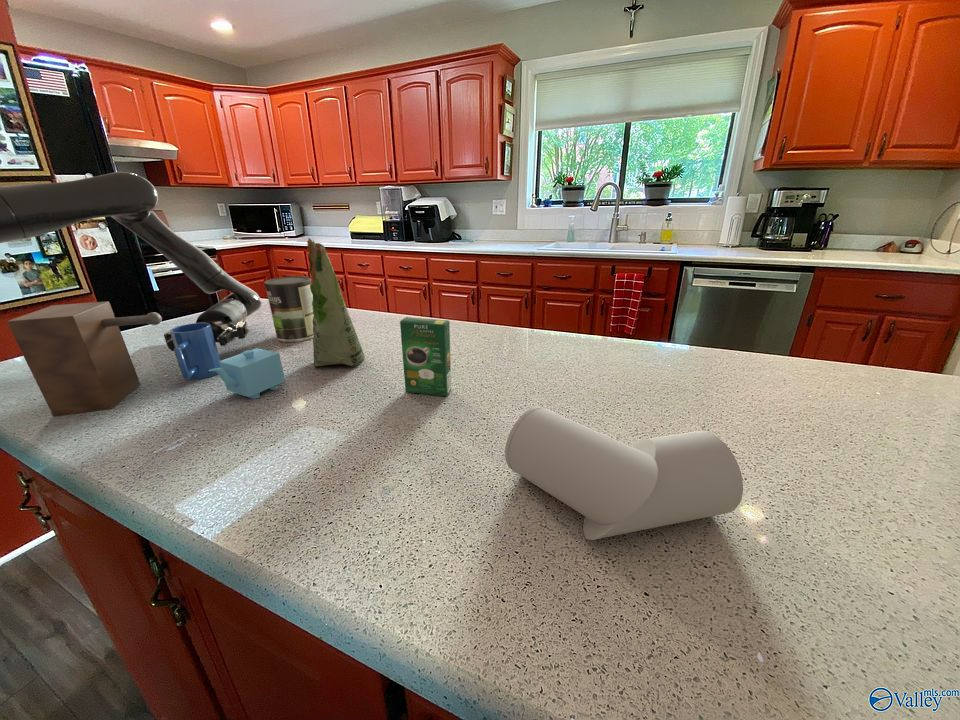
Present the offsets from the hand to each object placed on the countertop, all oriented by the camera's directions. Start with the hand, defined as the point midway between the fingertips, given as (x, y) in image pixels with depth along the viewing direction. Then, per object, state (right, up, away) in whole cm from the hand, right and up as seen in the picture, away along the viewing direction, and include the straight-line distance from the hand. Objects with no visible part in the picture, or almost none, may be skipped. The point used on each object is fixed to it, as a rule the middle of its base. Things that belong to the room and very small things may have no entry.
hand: (196, 343), depth 77 cm
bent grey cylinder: (+69, -19, -33) cm, 79 cm away
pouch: (+26, -4, +6) cm, 26 cm away
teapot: (+15, -9, -7) cm, 19 cm away
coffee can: (+10, +3, +23) cm, 25 cm away
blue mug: (+1, -7, -1) cm, 7 cm away
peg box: (-7, -10, -7) cm, 14 cm away
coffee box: (+47, -9, -8) cm, 48 cm away
